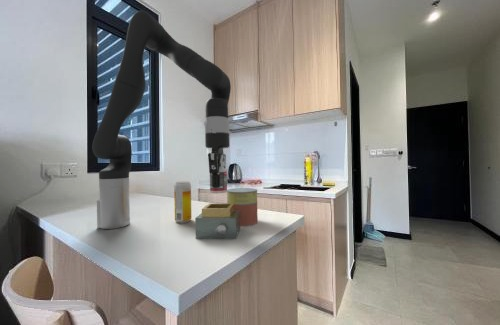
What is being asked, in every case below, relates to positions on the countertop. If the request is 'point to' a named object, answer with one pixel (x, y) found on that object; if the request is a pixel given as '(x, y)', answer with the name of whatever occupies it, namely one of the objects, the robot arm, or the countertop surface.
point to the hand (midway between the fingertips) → (218, 186)
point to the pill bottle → (222, 181)
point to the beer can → (182, 201)
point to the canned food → (244, 204)
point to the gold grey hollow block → (218, 221)
